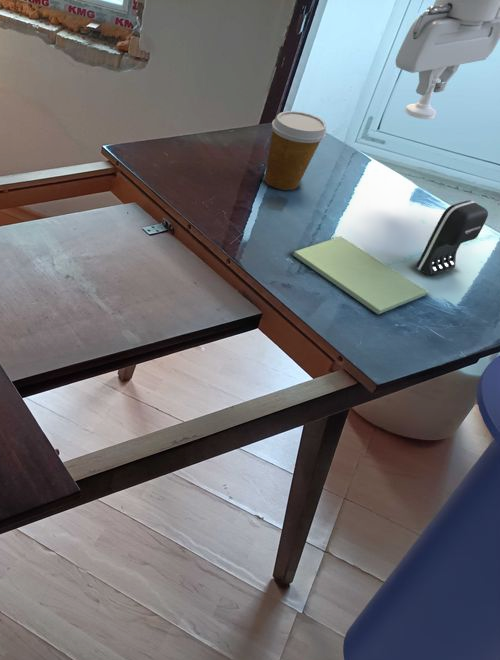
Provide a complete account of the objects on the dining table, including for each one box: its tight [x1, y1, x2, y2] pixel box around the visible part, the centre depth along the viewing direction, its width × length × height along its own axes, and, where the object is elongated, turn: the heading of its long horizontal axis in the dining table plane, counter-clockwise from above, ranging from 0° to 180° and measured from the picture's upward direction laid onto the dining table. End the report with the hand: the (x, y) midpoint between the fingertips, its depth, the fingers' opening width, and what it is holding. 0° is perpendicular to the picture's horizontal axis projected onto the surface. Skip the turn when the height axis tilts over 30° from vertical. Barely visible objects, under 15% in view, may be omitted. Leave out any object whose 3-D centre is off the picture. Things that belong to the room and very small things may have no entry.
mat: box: [292, 236, 428, 315], centre depth 107 cm, size 17×11×1 cm, turn 30°
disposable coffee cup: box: [263, 110, 327, 191], centre depth 126 cm, size 10×10×12 cm
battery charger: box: [415, 200, 489, 277], centre depth 106 cm, size 7×4×11 cm, turn 118°
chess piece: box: [403, 67, 447, 120], centre depth 113 cm, size 5×5×10 cm
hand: (429, 92), depth 114 cm, fingers closed on chess piece
